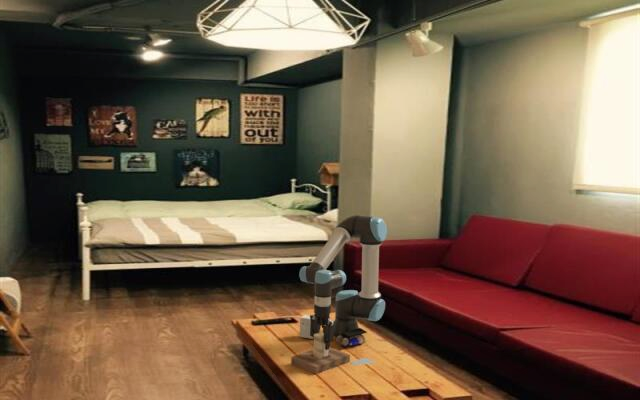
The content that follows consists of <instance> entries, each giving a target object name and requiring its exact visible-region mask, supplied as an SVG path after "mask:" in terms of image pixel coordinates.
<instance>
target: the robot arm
mask: <svg viewBox="0 0 640 400" xmlns="http://www.w3.org/2000/svg"><path fill="white" fill-rule="evenodd" d="M387 234H388V228H387V224H386V221H384V219H382V218H381V217H380V218H379V217H376V216H366V215H365V216H364V215H357V214H356V215H350V216H349V217H347V218H344V219H343V220H342V221H341V222H340V223H338V224H337V225H336V227H335V228H334V229H333V234H332V235H331V237H330V238H329V239H328V241H327V242H326V243H325V244H324V246H323V247H322V249H321V250H320V251H319V253H317V255H316V257H314V259H313V260H312V262H311V263H310V265H308V266H307V265H306V266H305V265H304V266H302V267H301V268H300V269H299V274H298V275H299V276H298V277H299V279H300V281H301V282H303V283H307V284H311V285H314V306H313V309H314V310H313V313H314V314H310V320H311V324H310V336H312V337H313V339H312V344H313V346H314V334H317V333H320V332H321V329H322V332H323V334H324V340H325V342H324V343H323V357H326V356H328V349H329V347H330V343H333V342H334V337H336V338H337V337H338V336H342V332H346V331H349V330H353V329H357V328H360V327H359V323H358V319H362V320H368V321H370V322H371V321H373V322H377V321H379V320H380V319H382V317H383V315H384V312H385V310H386V302H385V300H384V299H382V294H381V292H379V269H380V268H379V266H380V265H379V263H380V260H379V259H380V246H381V245H382V244H383V242H384V241H386V238H387ZM352 238H353V239H354V238H355V239H358V241H359V245H361V247H362V248H361V249H362V251H361V291H360V292H358V290H354V289H349V290H348V289H347V290H345V289H344V290H341V291H338V292H337V293H336V295H335V300H334V301H335V314H334V315H335V316H334V320H331V317H330V315H331V313H332V312H331V311H332V308H331V307H332V306H331V304H332V290H334V289H336V288H339V287H341V286H343V285H345V284H346V281H347V275H346V273H345V272H344V271H343V270H341V269H337V270H328V269H327V268H329V266H330V265H331V263H332V262H333V261H334V259H335V258H336V256H337V255H338V254H339V252H340V251H341V250H342V248H343V247H344V245H346V243H348V242H350V241H351V239H352ZM357 318H358V319H357ZM354 337H356V336H353V337H350V339H351V338H354Z"/></svg>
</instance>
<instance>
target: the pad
mask: <svg viewBox="0 0 640 400" xmlns="http://www.w3.org/2000/svg"><path fill="white" fill-rule="evenodd" d="M377 363H378V362H376V361H374V360H371V359H368V358H366V357H362V358H359V359H357V360H354V361H350V364H352V365H354V366H356V365H357V366H359V365H367V364H369V365H370V364H377Z"/></svg>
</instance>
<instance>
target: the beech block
mask: <svg viewBox="0 0 640 400" xmlns="http://www.w3.org/2000/svg"><path fill="white" fill-rule="evenodd" d="M324 342H325V340H324V334H323V331H320V332H319V333H317V334H314V345H313V349H312V350H313V357H315V358H317V359H320V360H322V359H325V358H328V357H329V349H328V356H326V357H323V343H324Z"/></svg>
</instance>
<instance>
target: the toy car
mask: <svg viewBox="0 0 640 400" xmlns="http://www.w3.org/2000/svg"><path fill="white" fill-rule="evenodd" d="M367 333H368V332H367V330H365V329H363V328H361V327H359V328H357V329H353V330H349V331H346V332H342V336H338V337H336V339H335V341H336V343H339V344H341V345H340V346H341V347H344V349H346V348H347V349H348V348H349V347H350V346H353V345H357V344H359V345H361V344H363V343H365V340H366V337H365V335H364V334H367ZM353 336H356V337H353ZM350 337H353V338H350Z"/></svg>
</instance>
